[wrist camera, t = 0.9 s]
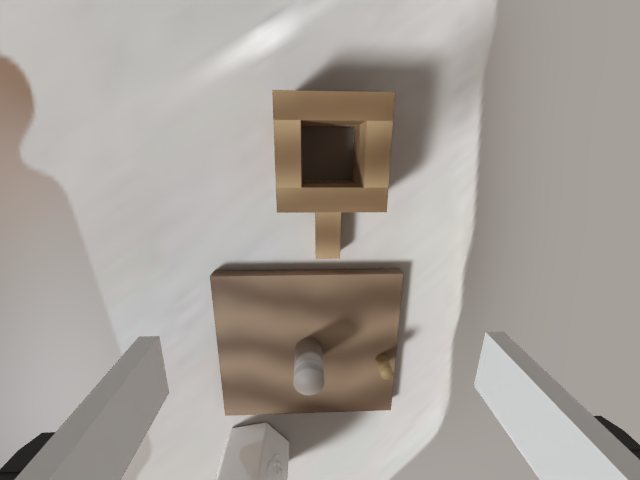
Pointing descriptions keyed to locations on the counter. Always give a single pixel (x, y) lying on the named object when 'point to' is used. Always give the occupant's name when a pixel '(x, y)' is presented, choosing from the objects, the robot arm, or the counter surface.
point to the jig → (306, 339)
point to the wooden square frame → (368, 158)
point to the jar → (254, 454)
